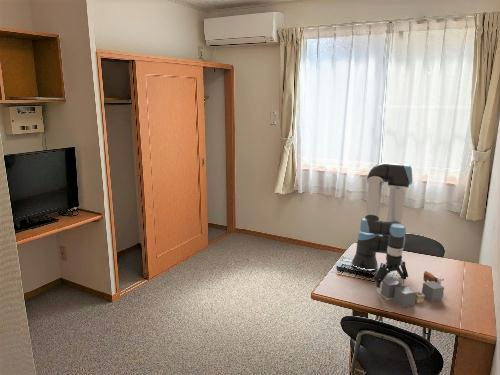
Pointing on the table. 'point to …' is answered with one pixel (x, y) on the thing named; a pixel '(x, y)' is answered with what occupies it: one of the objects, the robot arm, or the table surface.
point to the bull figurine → (431, 278)
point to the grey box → (389, 287)
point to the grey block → (404, 296)
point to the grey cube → (432, 291)
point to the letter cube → (419, 297)
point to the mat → (386, 297)
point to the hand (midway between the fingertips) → (389, 291)
